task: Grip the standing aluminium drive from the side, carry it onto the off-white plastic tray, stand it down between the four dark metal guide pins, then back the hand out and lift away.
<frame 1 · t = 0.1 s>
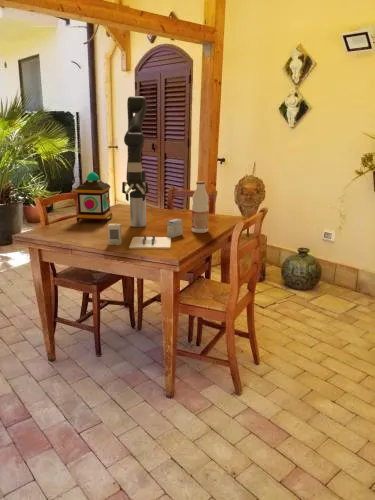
hand: (135, 201, 226), 17 cm above the table, tool pointing down, fingers open, 8 cm apart
medicine box: (174, 236, 223), on the table
fruit juice: (199, 231, 233), on the table
drive: (115, 243, 207), on the table
pin tray: (151, 243, 208), on the table
decorative lantern: (95, 221, 255), on the table
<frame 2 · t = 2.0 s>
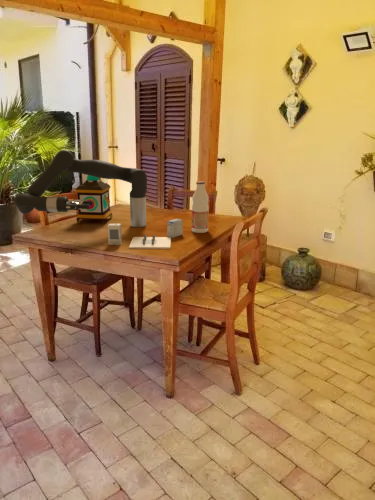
hand: (90, 204, 201), 20 cm above the table, tool horizontal, fingers open, 8 cm apart
nothing on the table moved.
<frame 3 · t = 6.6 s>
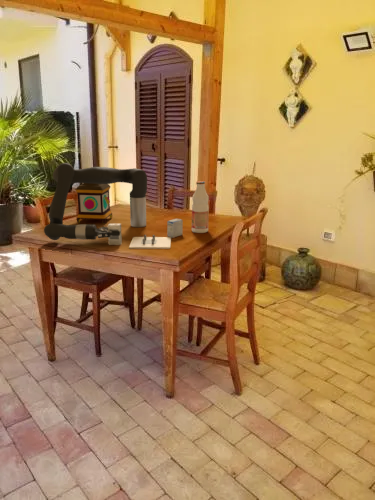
hand: (120, 232, 205), 6 cm above the table, tool horizontal, fingers closed on drive, 4 cm apart
drive: (115, 243, 207), on the table, touching gripper
everything else where it was.
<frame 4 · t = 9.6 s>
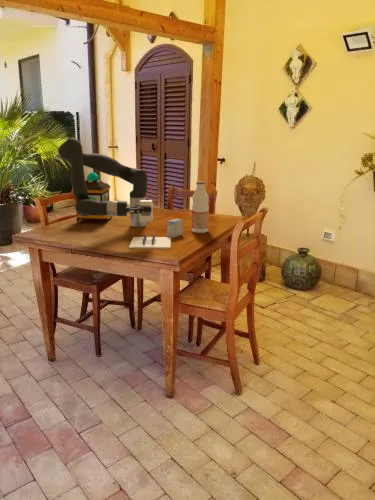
hand: (151, 208, 203), 18 cm above the table, tool horizontal, fingers closed on drive, 4 cm apart
drive: (146, 220, 205), point 12 cm above the table, touching gripper
everything else where it was.
when the fingers open (8 cm above the table, at t = 12.8 s): drive drops 1 cm, resting on pin tray.
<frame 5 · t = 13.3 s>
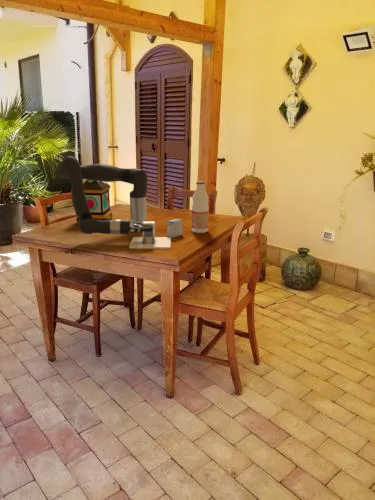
hand: (152, 227, 206), 9 cm above the table, tool horizontal, fingers open, 8 cm apart
drive: (149, 241, 208), point 1 cm above the table, touching pin tray
everything else where it was.
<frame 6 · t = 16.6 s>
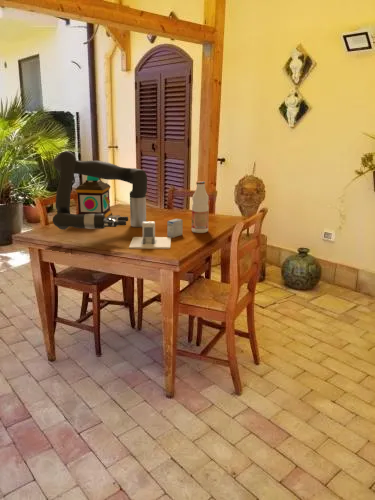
hand: (127, 220, 205), 12 cm above the table, tool horizontal, fingers open, 8 cm apart
nothing on the table moved.
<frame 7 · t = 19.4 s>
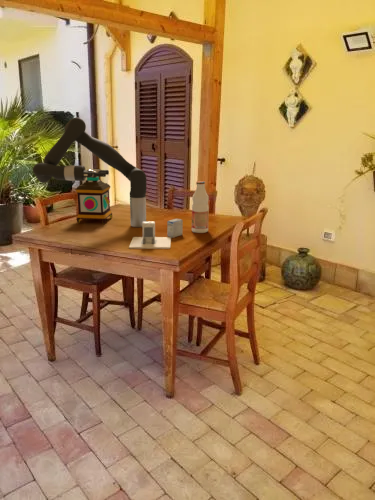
hand: (107, 173, 206), 34 cm above the table, tool horizontal, fingers open, 8 cm apart
nothing on the table moved.
at the end: drive 0.1 cm from the target spot on the pin tray, point 0.9 cm above the pin tray's base; drive tilted 0°; the gripper is holding nothing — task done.
